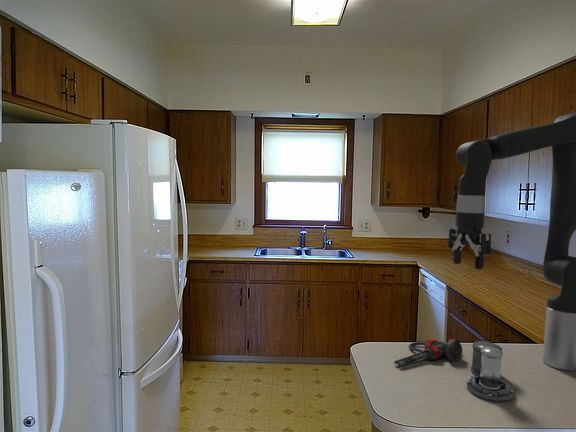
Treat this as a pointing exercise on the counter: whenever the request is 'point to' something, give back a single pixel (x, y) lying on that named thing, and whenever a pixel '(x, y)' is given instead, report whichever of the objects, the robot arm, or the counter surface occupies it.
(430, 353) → the valve
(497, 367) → the fitting
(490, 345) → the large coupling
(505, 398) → the flange
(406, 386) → the counter surface
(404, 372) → the counter surface
